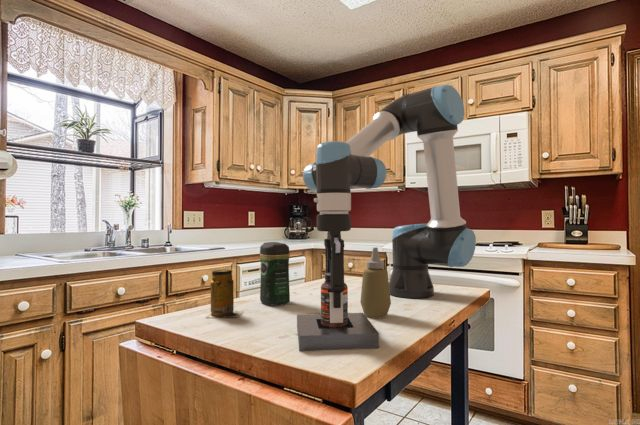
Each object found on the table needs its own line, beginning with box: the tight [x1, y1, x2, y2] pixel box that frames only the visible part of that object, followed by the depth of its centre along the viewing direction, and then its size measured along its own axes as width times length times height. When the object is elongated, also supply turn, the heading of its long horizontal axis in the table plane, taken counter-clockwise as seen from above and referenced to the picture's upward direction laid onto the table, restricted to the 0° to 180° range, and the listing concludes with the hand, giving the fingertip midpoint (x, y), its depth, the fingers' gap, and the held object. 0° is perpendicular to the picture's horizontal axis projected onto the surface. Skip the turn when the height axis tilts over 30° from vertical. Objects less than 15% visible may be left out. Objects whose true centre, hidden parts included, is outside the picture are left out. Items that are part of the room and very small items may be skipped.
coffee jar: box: [259, 241, 291, 307], centre depth 117 cm, size 10×8×19 cm
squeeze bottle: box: [359, 247, 392, 319], centre depth 102 cm, size 8×8×18 cm
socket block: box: [296, 312, 380, 352], centre depth 85 cm, size 16×16×3 cm
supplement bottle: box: [320, 272, 349, 328], centre depth 85 cm, size 6×6×11 cm
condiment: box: [206, 268, 244, 319], centre depth 104 cm, size 7×8×12 cm
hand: (334, 317), depth 85 cm, fingers closed on supplement bottle, 6 cm apart
